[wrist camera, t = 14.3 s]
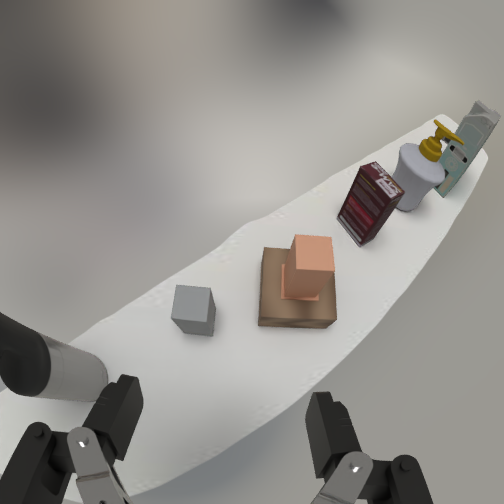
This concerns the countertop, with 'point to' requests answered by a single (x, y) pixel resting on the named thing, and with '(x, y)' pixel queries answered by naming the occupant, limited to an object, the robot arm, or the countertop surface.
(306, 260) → the terracotta pillar
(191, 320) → the slate-grey pillar
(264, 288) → the walnut base block
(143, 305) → the countertop surface
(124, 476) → the countertop surface
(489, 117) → the device
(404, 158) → the soap bottle
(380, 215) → the supplement box
